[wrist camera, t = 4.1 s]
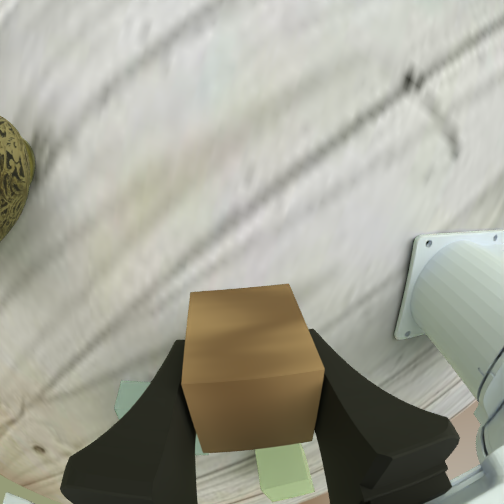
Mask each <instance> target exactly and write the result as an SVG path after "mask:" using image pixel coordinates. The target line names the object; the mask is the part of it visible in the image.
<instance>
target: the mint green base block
mask: <svg viewBox="0 0 504 504" xmlns="http://www.w3.org/2000/svg"><path fill="white" fill-rule="evenodd" d="M150 383H151V382H134V381H121V384H120V388H119V392H118V396H117V399H116V403H115V407H114V409H115V412H116V414H117V416H118V418H119V420H120V419H121V418H122V417H123V416H124V415H125V414H126V413H127V412H128V411H129V410H130V408H131V407H132V406H133V405H134V404H135V403H136V401H137V400H138V399H139V398H140V397H141V395H142V394H143V393H144V391H145V390H146V388H147V387H148V386H149V384H150ZM195 455H209V453H203V451H202V448H201V445H200V442H199V439H198V436H197V433H196V442H195Z"/></svg>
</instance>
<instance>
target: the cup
mask: <svg viewBox="0 0 504 504" xmlns="http://www.w3.org/2000/svg"><path fill="white" fill-rule="evenodd" d="M34 172H35V158H34V154H33V151H32V148H31V147H30V145H29V144H28V142H27V141H26V140H24V139H23V138H22V137H21V136H20V134H19V132H18V131H17V129H16V128H15V127H14V126H13V125H12V124H11V123H10V122H9V121H7V120H6V119H5V118H3V117H1V116H0V241H1V240H2V239H3V238H4V237H5V236H6V235H7V234H8V232H9V231H10V230H11V228H12V227H13V226H14V224H15V223H16V221H17V220H18V218H19V216H20V214H21V212H22V210H23V208H24V205H25V203H26V200H27V196H28V192H29V186H30V184H31V182H32V180H33V177H34Z"/></svg>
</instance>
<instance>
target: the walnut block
mask: <svg viewBox="0 0 504 504" xmlns="http://www.w3.org/2000/svg"><path fill="white" fill-rule="evenodd" d="M324 371H325V368H324V366H323V364H322V361H321V359H320V356H319V354H318V352H317V349H316V347H315V344H314V342H313V339H312V337H311V335H310V332H309V330H308V328H307V325H306V323H305V320H304V318H303V316H302V313H301V311H300V309H299V306H298V304H297V301H296V299H295V297H294V294H293V292H292V290H291V287H290V285H289V284H282V285H271V286H261V287H250V288H238V289H227V290H215V291H202V292H191V293H190V301H189V310H188V319H187V328H186V338H185V348H184V359H183V370H182V382H181V385H182V388H183V392H184V395H185V398H186V402H187V405H188V408H189V412H190V415H191V418H192V421H193V424H194V427H195V430H196V433H197V436H198V439H199V442H200V445H201V448H202V451H203V453H216V452H232V451H244V450H254V449H263V448H271V447H278V446H285V445H292V444H298V443H304V442H309V441H312V439H313V434H314V429H315V424H316V419H317V413H318V407H319V402H320V396H321V390H322V384H323V377H324Z"/></svg>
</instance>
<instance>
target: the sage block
mask: <svg viewBox="0 0 504 504" xmlns="http://www.w3.org/2000/svg"><path fill="white" fill-rule="evenodd" d="M255 454H256V460H257V467H258V474H259V481H260V487H261V491H262V492H263V493H264V494H265V495H266V496H267V497H268V498H269V499H270V500H271V501H272V502H275V501H280V500H284V499H289V498H293V497H297V496H301V495H305V494H308V493H312V492H315V491H314V487H313V483H312V479H311V476H310V472H309V468H308V464H307V460H306V457H305V453H304V450H303V448H302V445H301V443H298V444H292V445H285V446H278V447H271V448H263V449H255Z"/></svg>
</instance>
